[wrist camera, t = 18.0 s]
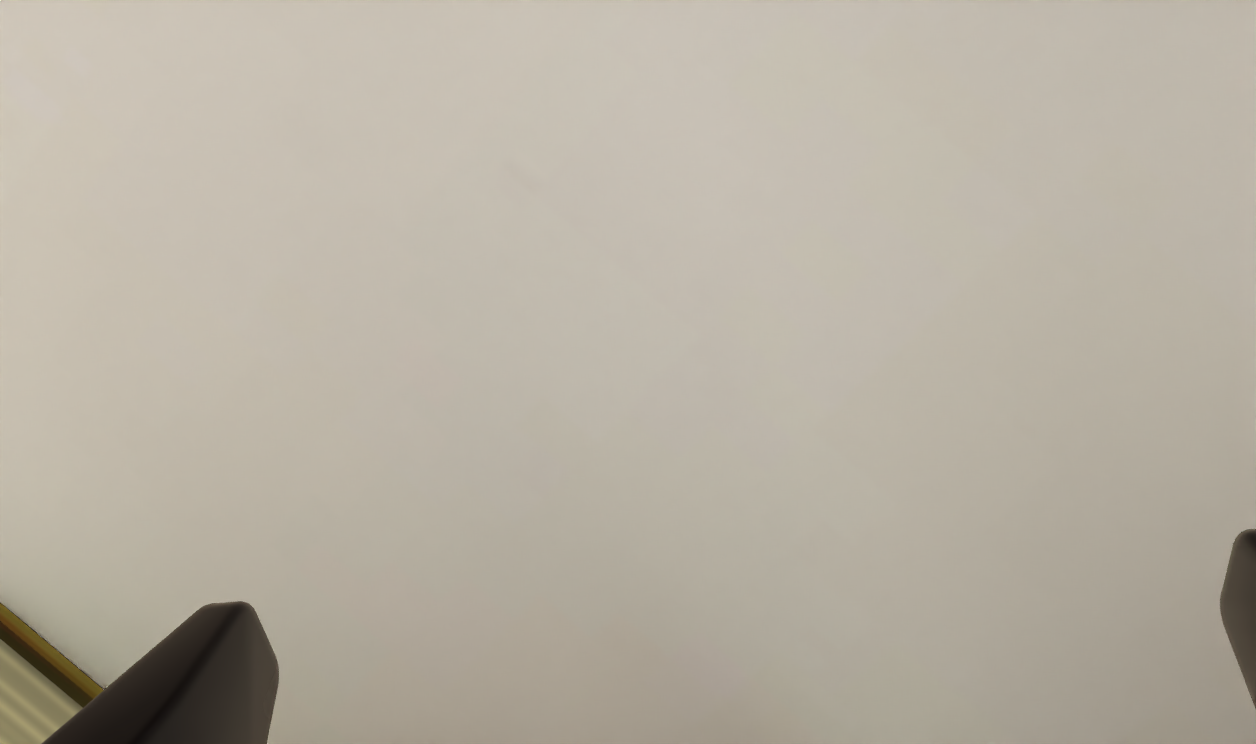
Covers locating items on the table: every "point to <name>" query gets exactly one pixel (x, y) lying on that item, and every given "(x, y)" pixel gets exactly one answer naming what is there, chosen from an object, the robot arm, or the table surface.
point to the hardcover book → (36, 685)
